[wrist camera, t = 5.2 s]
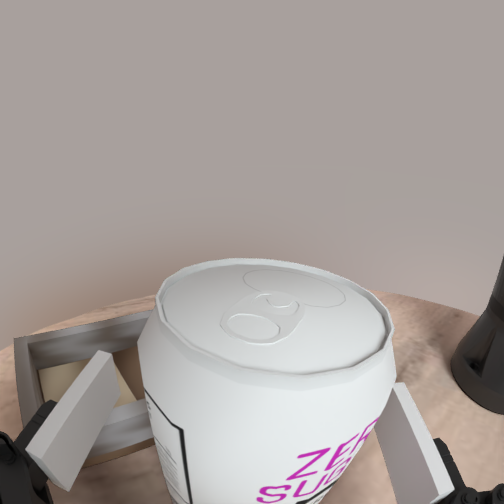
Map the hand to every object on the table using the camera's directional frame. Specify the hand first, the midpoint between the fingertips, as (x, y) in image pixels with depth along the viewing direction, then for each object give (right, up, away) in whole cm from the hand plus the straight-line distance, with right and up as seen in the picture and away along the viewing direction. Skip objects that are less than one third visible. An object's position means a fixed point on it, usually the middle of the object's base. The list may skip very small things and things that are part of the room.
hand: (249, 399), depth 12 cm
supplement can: (-1, -9, +1) cm, 9 cm away
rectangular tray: (-8, -5, +11) cm, 15 cm away
